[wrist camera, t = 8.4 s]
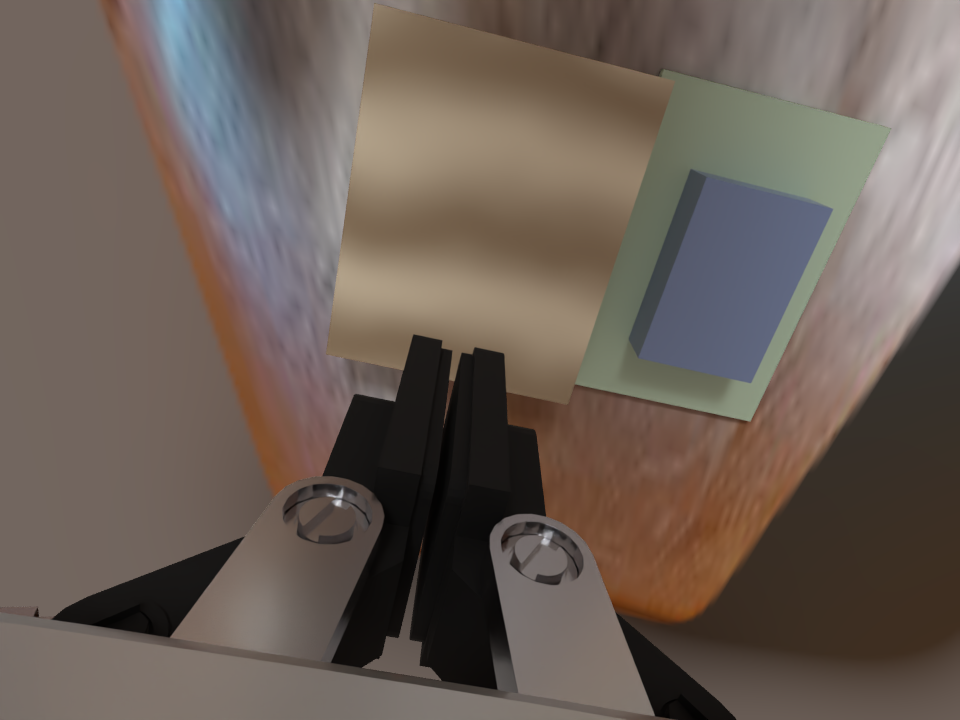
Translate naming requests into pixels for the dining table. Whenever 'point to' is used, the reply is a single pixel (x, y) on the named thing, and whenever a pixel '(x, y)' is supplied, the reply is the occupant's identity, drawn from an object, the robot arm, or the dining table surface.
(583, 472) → the dining table surface
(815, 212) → the blue rectangular block
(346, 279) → the plate
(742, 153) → the mat
